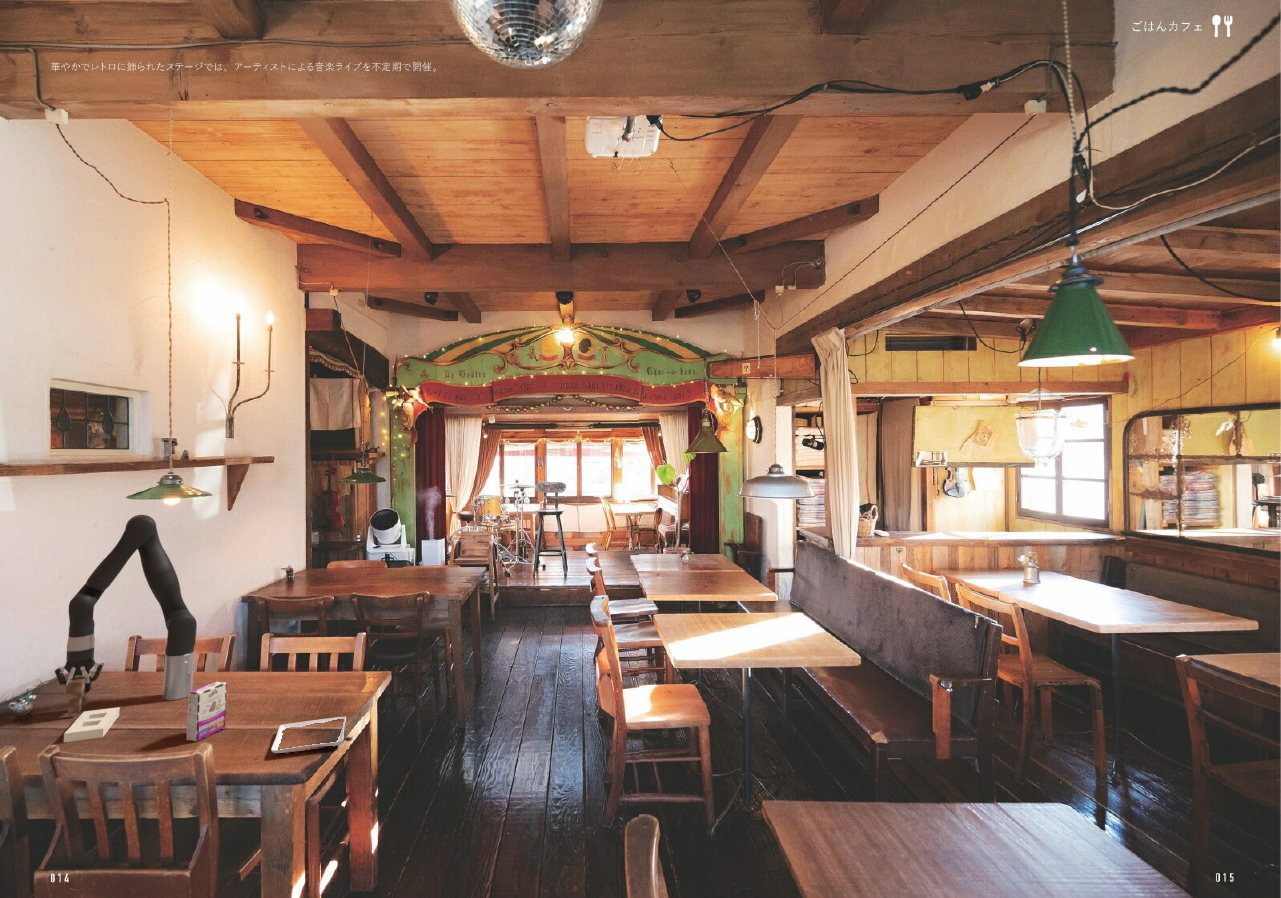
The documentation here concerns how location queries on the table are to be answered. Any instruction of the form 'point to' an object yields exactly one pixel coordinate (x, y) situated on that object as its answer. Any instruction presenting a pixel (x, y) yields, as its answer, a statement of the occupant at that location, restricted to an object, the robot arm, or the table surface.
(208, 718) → the candy bar box
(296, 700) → the table surface
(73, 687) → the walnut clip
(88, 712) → the slotted block
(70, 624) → the robot arm
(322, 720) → the rectangular frame
